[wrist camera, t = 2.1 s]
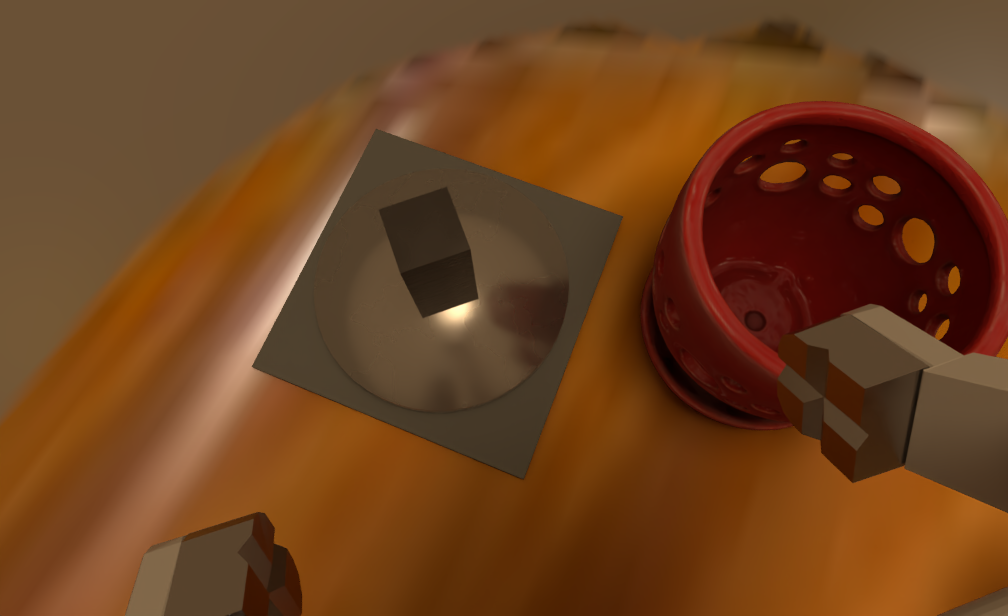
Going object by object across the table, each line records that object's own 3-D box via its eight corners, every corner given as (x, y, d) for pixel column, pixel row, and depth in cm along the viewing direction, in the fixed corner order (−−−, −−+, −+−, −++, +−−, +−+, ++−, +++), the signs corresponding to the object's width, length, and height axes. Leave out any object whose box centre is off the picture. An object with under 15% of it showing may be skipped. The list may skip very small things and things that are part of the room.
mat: (621, 219, 37) (622, 216, 36) (523, 479, 33) (523, 479, 32) (377, 132, 39) (376, 128, 38) (254, 368, 34) (251, 366, 34)
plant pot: (874, 444, 33) (1069, 418, 22) (626, 435, 33) (688, 405, 22) (845, 218, 37) (997, 94, 25) (622, 212, 37) (672, 86, 25)
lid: (605, 360, 34) (635, 320, 26) (359, 451, 33) (310, 437, 25) (516, 148, 38) (517, 55, 30) (292, 222, 36) (231, 146, 28)
